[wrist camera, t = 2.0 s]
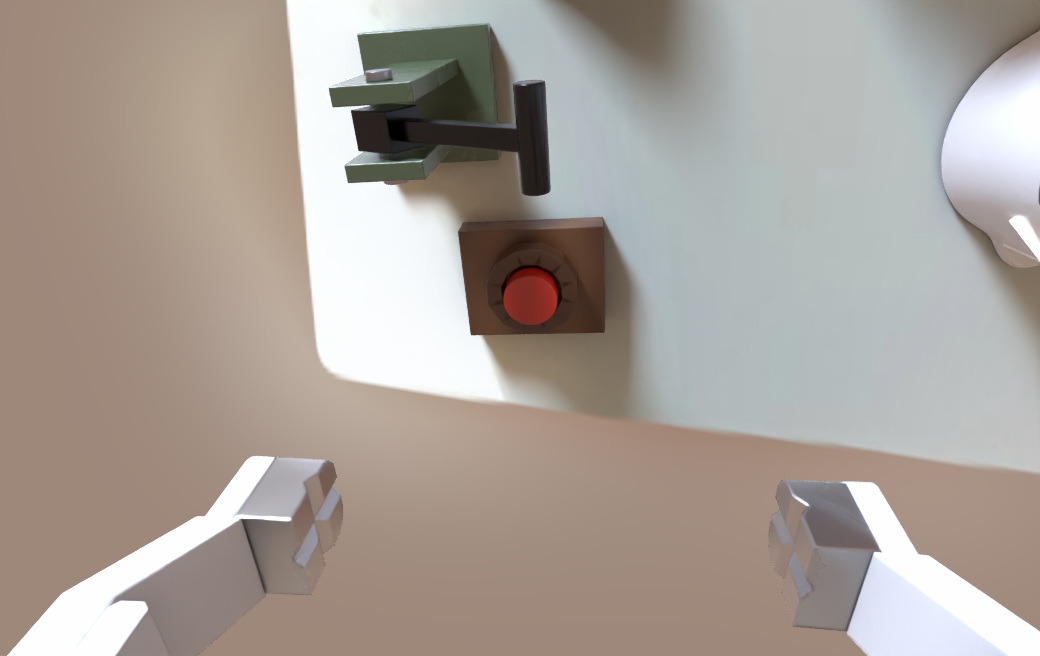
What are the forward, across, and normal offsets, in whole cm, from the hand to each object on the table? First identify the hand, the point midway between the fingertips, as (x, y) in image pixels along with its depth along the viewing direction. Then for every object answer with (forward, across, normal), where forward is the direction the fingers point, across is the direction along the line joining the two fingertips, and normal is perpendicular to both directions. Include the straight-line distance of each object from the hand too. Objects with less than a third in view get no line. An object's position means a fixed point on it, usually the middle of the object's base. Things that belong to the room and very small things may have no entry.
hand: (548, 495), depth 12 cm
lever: (+25, +6, -2) cm, 26 cm away
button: (+35, +3, +12) cm, 37 cm away
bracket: (+38, +10, -2) cm, 40 cm away
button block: (+38, +3, +12) cm, 40 cm away
